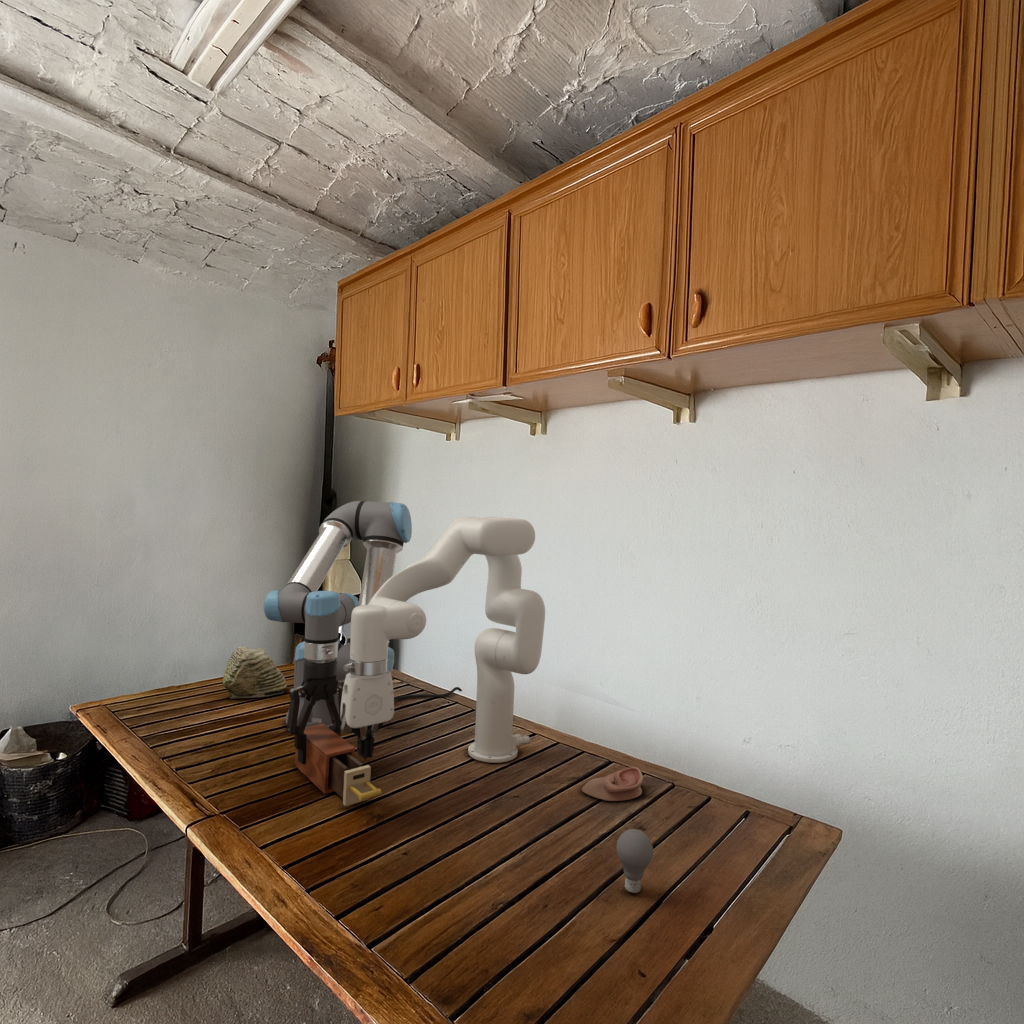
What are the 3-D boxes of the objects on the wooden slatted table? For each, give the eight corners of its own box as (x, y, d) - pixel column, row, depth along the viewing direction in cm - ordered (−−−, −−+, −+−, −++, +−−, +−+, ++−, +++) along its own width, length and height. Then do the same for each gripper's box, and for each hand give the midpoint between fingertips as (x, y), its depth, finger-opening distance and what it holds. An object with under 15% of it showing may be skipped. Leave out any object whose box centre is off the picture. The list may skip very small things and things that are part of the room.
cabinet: (353, 786, 139) (355, 747, 139) (324, 794, 135) (326, 754, 135) (321, 758, 152) (323, 723, 152) (294, 765, 148) (296, 728, 148)
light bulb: (610, 879, 108) (613, 822, 108) (644, 879, 109) (647, 822, 109) (619, 902, 102) (622, 840, 102) (655, 901, 103) (658, 840, 103)
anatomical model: (581, 779, 138) (585, 758, 149) (580, 797, 138) (585, 775, 149) (643, 787, 135) (643, 766, 147) (642, 806, 136) (642, 783, 147)
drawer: (382, 810, 128) (384, 777, 128) (358, 818, 124) (359, 784, 124) (337, 770, 144) (338, 741, 144) (314, 776, 141) (315, 746, 141)
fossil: (218, 695, 195) (220, 647, 195) (278, 685, 208) (279, 640, 207) (228, 703, 189) (230, 653, 188) (289, 692, 201) (290, 645, 201)
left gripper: (284, 668, 137) (280, 774, 137) (367, 657, 149) (363, 754, 150) (272, 661, 142) (268, 762, 143) (352, 650, 155) (349, 744, 155)
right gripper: (342, 676, 121) (338, 771, 121) (409, 665, 131) (406, 753, 131) (325, 667, 127) (322, 758, 127) (391, 657, 136) (388, 742, 137)
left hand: (317, 758), depth 146 cm, fingers closed on cabinet, 7 cm apart
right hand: (365, 755), depth 129 cm, fingers closed
